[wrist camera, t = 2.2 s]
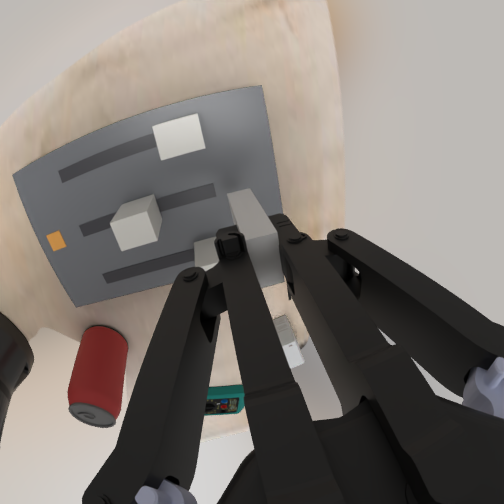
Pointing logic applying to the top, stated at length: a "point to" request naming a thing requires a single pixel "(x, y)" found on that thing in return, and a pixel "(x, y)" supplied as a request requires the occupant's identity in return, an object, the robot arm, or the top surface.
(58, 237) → the breaker panel
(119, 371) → the beer can
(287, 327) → the small box
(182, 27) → the top surface
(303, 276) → the robot arm
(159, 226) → the handle
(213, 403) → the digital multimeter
